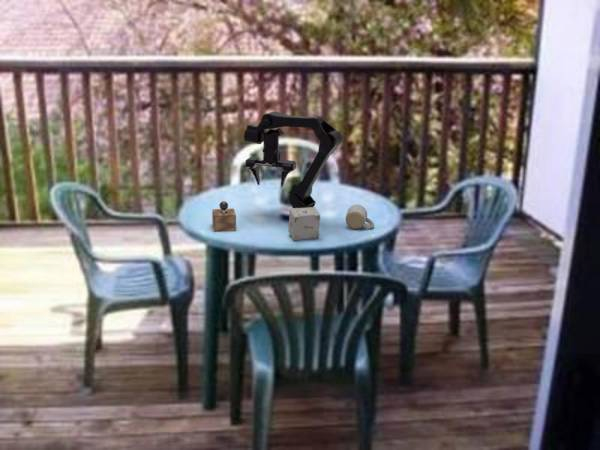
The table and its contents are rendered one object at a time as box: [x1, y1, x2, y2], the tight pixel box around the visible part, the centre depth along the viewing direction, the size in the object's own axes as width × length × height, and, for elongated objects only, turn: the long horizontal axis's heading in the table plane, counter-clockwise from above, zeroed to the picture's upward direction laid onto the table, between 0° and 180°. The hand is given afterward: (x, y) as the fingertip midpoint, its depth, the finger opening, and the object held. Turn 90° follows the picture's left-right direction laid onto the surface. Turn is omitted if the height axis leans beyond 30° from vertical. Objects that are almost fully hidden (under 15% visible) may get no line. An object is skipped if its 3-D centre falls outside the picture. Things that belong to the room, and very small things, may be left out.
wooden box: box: [211, 208, 237, 232], centre depth 277 cm, size 8×8×6 cm
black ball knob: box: [219, 200, 229, 213], centre depth 277 cm, size 6×6×9 cm
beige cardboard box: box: [288, 206, 321, 242], centre depth 268 cm, size 10×8×10 cm
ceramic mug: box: [345, 204, 375, 230], centre depth 281 cm, size 11×8×8 cm
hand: (270, 185), depth 286 cm, fingers open, 9 cm apart
